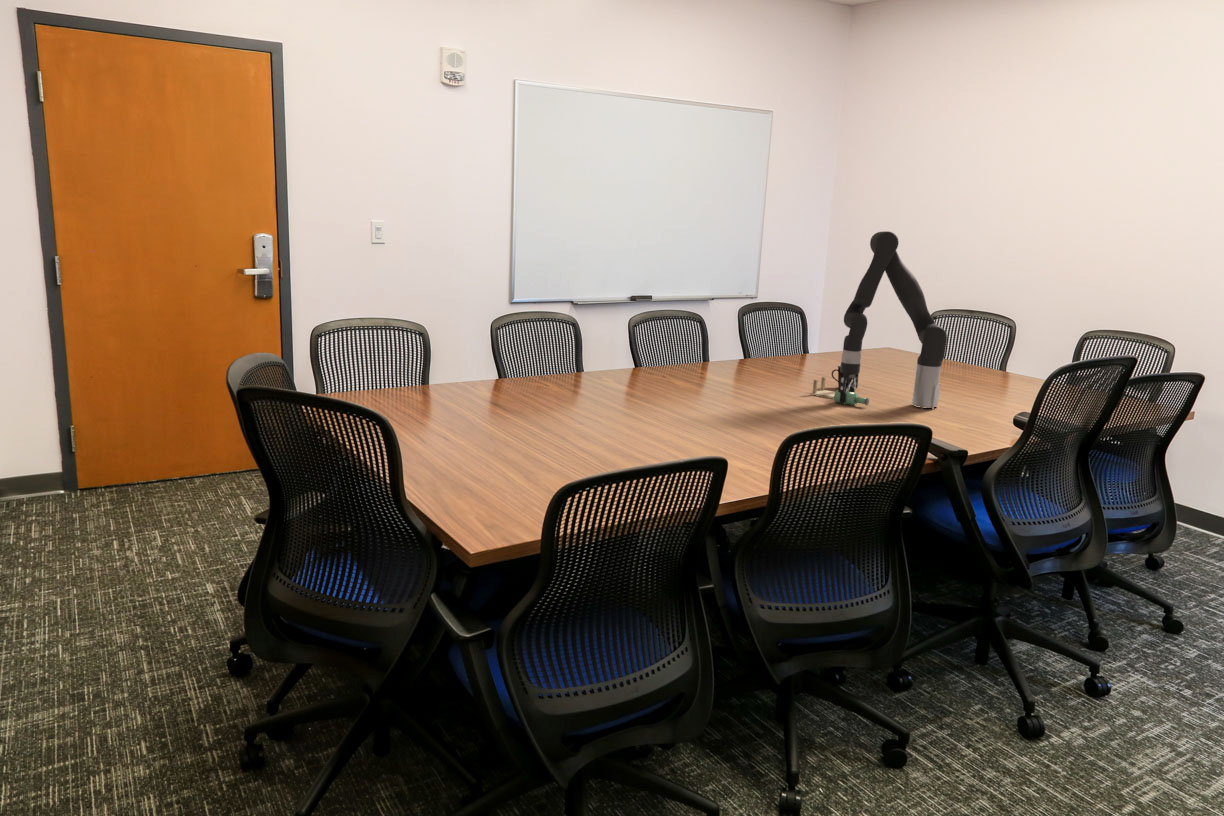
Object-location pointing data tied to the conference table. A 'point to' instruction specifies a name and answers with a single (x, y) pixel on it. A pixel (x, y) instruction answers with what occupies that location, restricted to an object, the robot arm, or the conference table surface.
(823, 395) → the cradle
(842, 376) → the coffee mug
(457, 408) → the conference table surface
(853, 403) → the bottle
